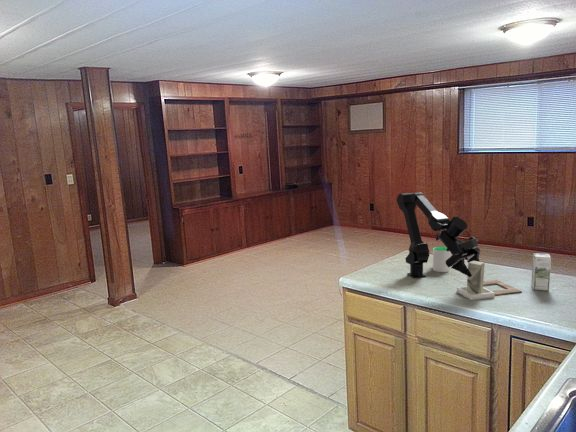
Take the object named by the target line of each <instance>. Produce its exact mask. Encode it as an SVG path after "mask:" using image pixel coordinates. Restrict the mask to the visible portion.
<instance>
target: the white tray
mask: <svg viewBox="0 0 576 432" xmlns="http://www.w3.org/2000/svg"><path fill="white" fill-rule="evenodd" d="M484 287H485V286H483V293H482V294H470V293H468V292H467V285H465V286H457V287H456V293H457V294H458V295H460V296H462V297H464V298H466V299H468V300H470V301H477V300H487V299H494V298H495V296H494V294H495V293H494V292H492V291H493V290H491V289H489V288H487V287H485V288H484ZM486 288H487V289H486ZM488 289H489V290H488ZM490 290H491V291H490Z"/></svg>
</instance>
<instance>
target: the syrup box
mask: <svg viewBox="0 0 576 432" xmlns="http://www.w3.org/2000/svg"><path fill="white" fill-rule="evenodd" d="M551 266H552V257H551V254H549V253H535V252H534V253H532V268H531V283H530V284H531V285H530V286H531V288H532V289H533V290H534V291H545V292H550V280H551Z"/></svg>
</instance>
